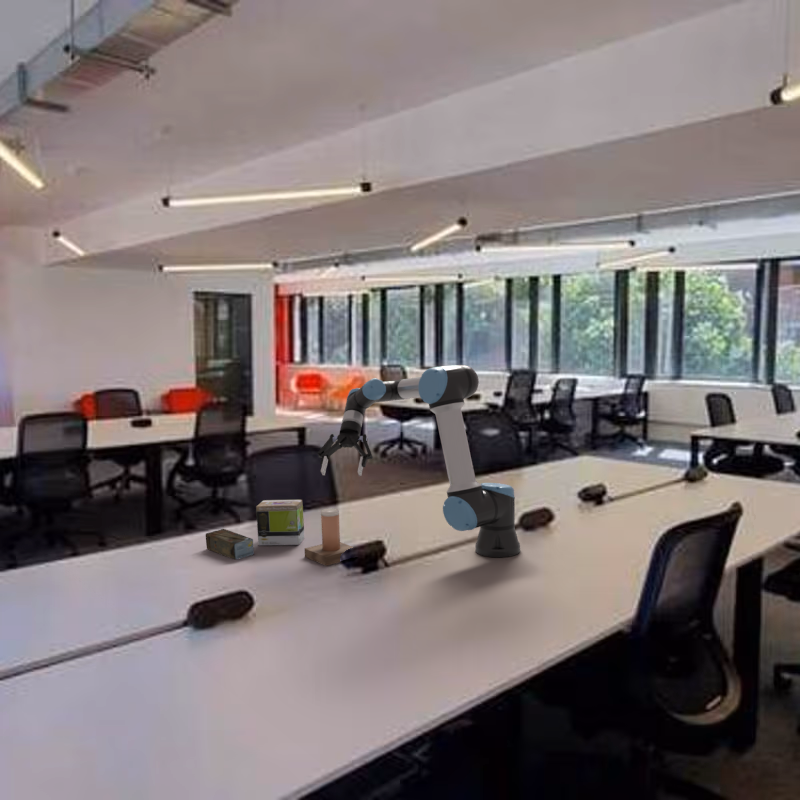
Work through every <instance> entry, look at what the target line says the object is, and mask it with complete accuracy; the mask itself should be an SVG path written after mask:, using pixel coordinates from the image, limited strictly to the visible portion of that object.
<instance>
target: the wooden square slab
mask: <svg viewBox="0 0 800 800" xmlns="http://www.w3.org/2000/svg"><path fill="white" fill-rule="evenodd" d="M353 547H354V546H352V545H350V544H347V543H344V542H341V541H340V549H339V550H336V551H324V550H323V549H322V543H321V544H317V545H313V546H308V547H305V548H304V558H306V559H308V560H311V561H313V562H316V563H318V564H321V565H323V566H330V565H334V564H339V563H341V562H340V556H341V554H342V553H344V552H345V551H346V550H348V549H350V548H353Z"/></svg>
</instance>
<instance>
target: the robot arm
mask: <svg viewBox="0 0 800 800" xmlns="http://www.w3.org/2000/svg"><path fill="white" fill-rule="evenodd" d="M479 384H480V382H479V376H478V374H477V372H476V371H475V370H474V368H472V367H471V366H468V365H466V364H465V365H464V364H456V365H441V366H439V365H438V366H433V367H430V368H427V369H426V370H424V371H423V372H422V374H421V376H416V377H410V378H404V379H403V378H402V379H395V380H388V381H387V380H386V381H383V380H381V379H379V378H377V377H376V378H375V377H374V378H370V380H368V381H366V382H365V383H364V384H363V385H362V386H361V387H356V388H351V390H349V392H348V394H347V397H346V404H345V408H344V412H343V416H342V421H341V425H340V430H339V434H338V435H334V434H333V433H331V434H330V436H329V438H328V440H327V441H326V442H325V443H324V444H323V445H322V447H320V449H319V450H318V452H317V453H316V454H317V456H318V458H319V459H320V462H319V464H320V466H321V469H320V473H321V475H322V476H326V471H327V467H328V462H329V459H328V458H330V457H331V456H333V454H334V453H335V452H337V451H338V450H340V449H342V448H350V449H351V448H354V449H356V450H357V452H358V453H359V455H360V456H359V463H358V468H357V474H358V477H362V474H363V469H364V468H366V466H367V462H368V460H369V459H370V460H372V459H373V458H374V457H373V453H372V451H371V449H370V446H369V444H368V437H367V434H363V435H361V431H362V426H363V422H364V417H365V412H366V410H367V409H368V408H370V407H371V406H372V405H374V404H375V403H383V402H385V403H386V402H390V401H401V400H410V399H417V398H419V399H421V400H422V401H423V403H426V404H428V406H429V411H430V412H432V413H433V414H435V417H436V424H437V428H438V433H439V438H440V443H441V447H442V453H443V457H444V462H445V467H446V473H447V477H448V481H449V487H448V489H447V490H446V495H447V497H446V499H445V500H444V502H443V505H442V513H443V516H444V519H445V521H446V523H448V525H449V526H451V527H452V528H453V530H456V531H459V532H465V531H473V530H474V529H477V528H479V532H478V535H477V539H476V542H475V548H474V549H475V550H474V551H475V553H477V554H478V555H480V556H484V557H489V558H506V557H507V558H509V557H513V556H516V555H518V554H520V553H521V543H520V541H519V538H518V536H517V535H518V534H517V532H516V529H515V527H516V525H515V523H516V522H515V521H516V520H515V519H516V518H515V515H516V514H515V511H516V509H515V507H516V505H515V503H516V502H515V497H516V496H515V490H514V488H513V486H511V485H510V484H506V483H499V482H497V483H495V482H481V483H480V482H478V481H477V480H476V474H475V470H474V465H473V461H472V460H473V459H472V457H471V452H470V451H471V450H470V446H469V442H468V437H467V433H466V432H467V431H466V426H465V422H464V417H463V413H462V407H463V406H464V405H465V399H468V398H470V397H471V396H473V395H475V393H476V392H477V390H478V388H479ZM359 442H362V443H363V444H364V448H365V450H366V452H365V451H364V450H363V448H362V447H361V446H360V445H359Z"/></svg>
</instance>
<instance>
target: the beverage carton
mask: <svg viewBox="0 0 800 800" xmlns="http://www.w3.org/2000/svg"><path fill="white" fill-rule="evenodd" d="M205 542H206V543H205V544H206V549H207V550H208V551H211V552H213V553H217V554H219V555H221V554H222V556H224V557H227V558H229V557H230V559H233V558H234V559H233V560H235V559H237V560H240V559H243V557H244V558H247V557H250V556H249V555H251V556H254V555H253V554H255V552H254V551H255V548H254V539H253V538H251V537H249V536H248V537H247V536H246V535H243V534H241V533H237V532H234V531H231V530H229V529H227V528H221V529H218V530H214V531H211V532H207V533H205ZM246 556H247V557H246ZM239 558H240V559H239Z"/></svg>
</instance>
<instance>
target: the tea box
mask: <svg viewBox="0 0 800 800" xmlns="http://www.w3.org/2000/svg"><path fill="white" fill-rule="evenodd" d="M255 508H256V510H255V512H256V527H257V528H256V530H257V543H258V546H299V545H300V544H301V543H302V541H304V539H305V524H304V523H305V522H304V519H305V518H304V506H303V499H266V500H265V499H264V500H262V501H261V502H260V503H259V504H258V505H256V506H255Z"/></svg>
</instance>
